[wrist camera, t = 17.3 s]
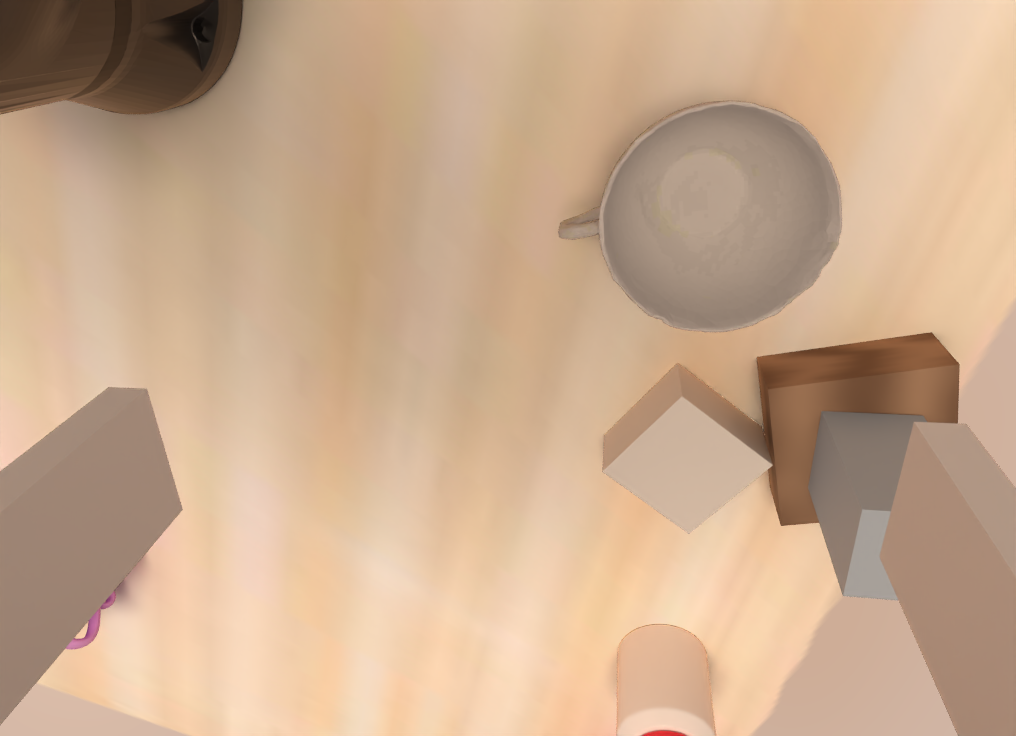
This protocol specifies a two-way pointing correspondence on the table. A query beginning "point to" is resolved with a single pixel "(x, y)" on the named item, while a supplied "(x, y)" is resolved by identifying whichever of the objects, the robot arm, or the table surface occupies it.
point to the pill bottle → (663, 684)
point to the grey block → (685, 450)
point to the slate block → (858, 493)
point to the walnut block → (845, 401)
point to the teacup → (717, 216)
